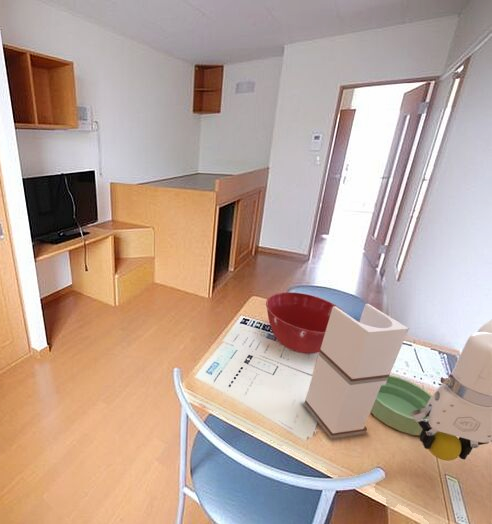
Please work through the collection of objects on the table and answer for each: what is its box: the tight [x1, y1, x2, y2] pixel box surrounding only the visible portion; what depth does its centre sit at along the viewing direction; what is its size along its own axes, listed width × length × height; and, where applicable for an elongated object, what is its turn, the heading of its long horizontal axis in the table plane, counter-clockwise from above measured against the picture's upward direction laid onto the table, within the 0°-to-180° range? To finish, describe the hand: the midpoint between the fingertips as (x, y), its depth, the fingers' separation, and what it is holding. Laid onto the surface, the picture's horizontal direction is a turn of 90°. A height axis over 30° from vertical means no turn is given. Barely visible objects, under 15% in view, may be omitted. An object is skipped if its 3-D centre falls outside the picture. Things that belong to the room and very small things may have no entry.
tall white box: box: [303, 303, 409, 439], centre depth 82 cm, size 11×11×35 cm
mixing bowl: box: [265, 291, 345, 355], centre depth 119 cm, size 28×28×16 cm
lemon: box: [428, 431, 461, 462], centre depth 70 cm, size 6×6×8 cm
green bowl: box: [370, 374, 433, 436], centre depth 91 cm, size 18×18×6 cm
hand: (441, 448), depth 70 cm, fingers closed on lemon, 5 cm apart
